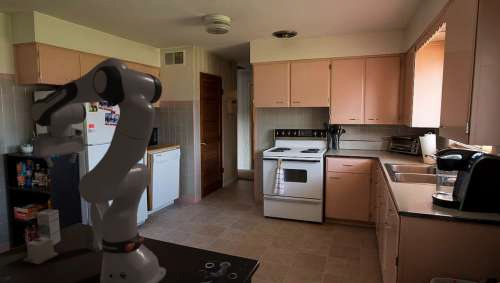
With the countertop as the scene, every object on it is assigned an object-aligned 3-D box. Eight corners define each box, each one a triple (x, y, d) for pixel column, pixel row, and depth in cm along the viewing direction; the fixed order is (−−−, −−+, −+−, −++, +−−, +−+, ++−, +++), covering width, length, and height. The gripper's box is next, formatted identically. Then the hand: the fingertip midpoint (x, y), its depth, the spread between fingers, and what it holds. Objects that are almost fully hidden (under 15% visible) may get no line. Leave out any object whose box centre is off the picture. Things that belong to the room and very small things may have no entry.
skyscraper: (103, 240, 132) (100, 179, 129) (116, 244, 128) (113, 181, 126) (86, 248, 124) (82, 184, 122) (98, 252, 121) (95, 186, 118)
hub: (58, 254, 119) (57, 243, 118) (37, 264, 111) (36, 251, 111) (44, 251, 122) (43, 240, 121) (23, 260, 114) (22, 248, 114)
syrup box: (61, 240, 132) (59, 209, 130) (51, 246, 126) (48, 213, 124) (49, 240, 132) (47, 208, 131) (38, 246, 126) (36, 213, 125)
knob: (53, 254, 118) (52, 237, 117) (38, 261, 112) (37, 244, 112) (43, 251, 120) (42, 235, 119) (28, 258, 115) (26, 241, 114)
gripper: (39, 134, 112) (42, 169, 113) (86, 130, 131) (88, 161, 133) (28, 133, 114) (31, 168, 116) (75, 130, 133) (77, 160, 135)
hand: (61, 164), depth 124 cm, fingers open, 8 cm apart
